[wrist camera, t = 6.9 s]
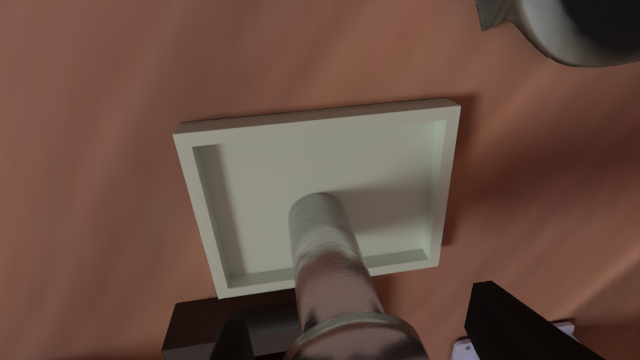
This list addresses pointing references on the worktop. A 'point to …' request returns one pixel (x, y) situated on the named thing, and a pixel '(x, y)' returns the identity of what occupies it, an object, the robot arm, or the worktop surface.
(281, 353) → the hitch block
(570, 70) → the worktop surface
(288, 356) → the pin
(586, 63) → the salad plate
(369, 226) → the tray
